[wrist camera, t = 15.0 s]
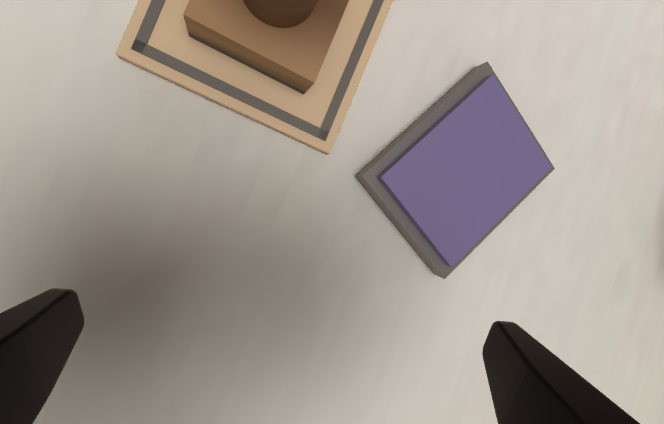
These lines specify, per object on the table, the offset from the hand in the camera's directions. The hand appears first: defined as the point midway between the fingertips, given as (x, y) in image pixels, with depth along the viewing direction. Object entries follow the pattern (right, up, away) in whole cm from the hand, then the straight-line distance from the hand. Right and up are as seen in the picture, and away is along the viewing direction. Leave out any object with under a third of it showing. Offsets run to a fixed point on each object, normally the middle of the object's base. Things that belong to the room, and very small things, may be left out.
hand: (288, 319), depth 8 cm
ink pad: (+8, +5, +15) cm, 18 cm away
